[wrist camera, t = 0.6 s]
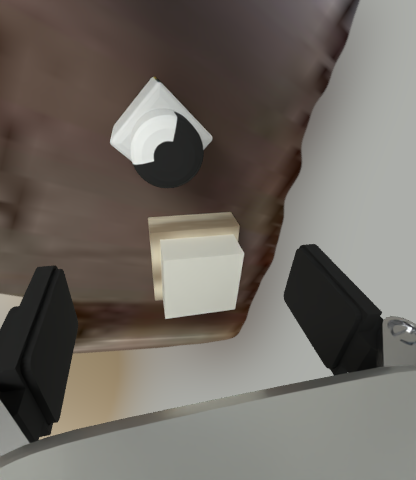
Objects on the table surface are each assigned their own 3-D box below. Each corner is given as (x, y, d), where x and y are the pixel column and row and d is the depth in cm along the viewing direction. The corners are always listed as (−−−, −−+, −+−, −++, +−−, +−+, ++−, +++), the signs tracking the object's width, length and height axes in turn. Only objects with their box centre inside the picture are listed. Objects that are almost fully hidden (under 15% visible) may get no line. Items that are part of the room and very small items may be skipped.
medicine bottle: (200, 123, 33) (228, 153, 23) (161, 167, 35) (172, 212, 25) (153, 74, 29) (164, 85, 20) (112, 126, 31) (103, 160, 21)
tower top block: (159, 239, 36) (163, 260, 32) (233, 234, 38) (244, 253, 34) (162, 295, 41) (165, 318, 38) (226, 287, 44) (235, 309, 40)
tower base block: (147, 216, 39) (149, 233, 35) (230, 210, 41) (239, 226, 38) (153, 280, 45) (155, 300, 42) (223, 272, 48) (231, 290, 44)
